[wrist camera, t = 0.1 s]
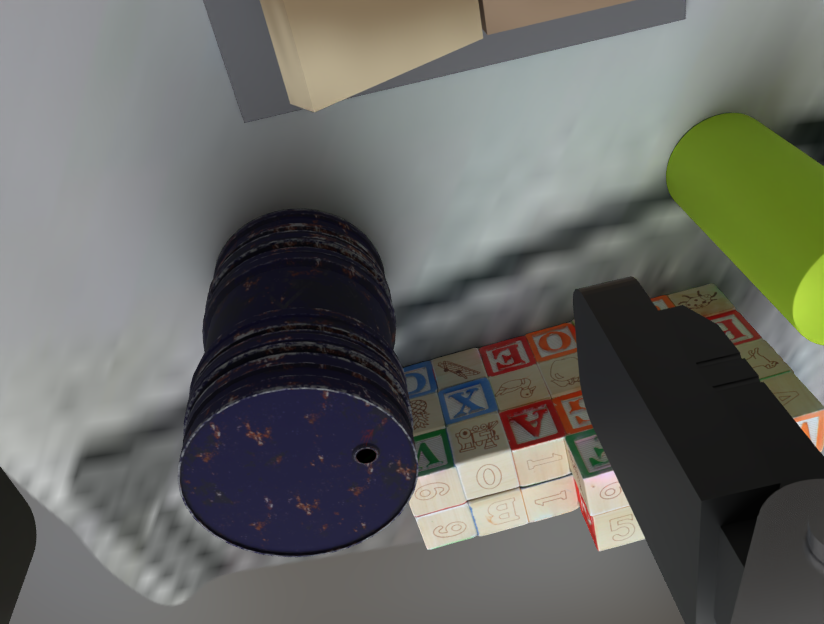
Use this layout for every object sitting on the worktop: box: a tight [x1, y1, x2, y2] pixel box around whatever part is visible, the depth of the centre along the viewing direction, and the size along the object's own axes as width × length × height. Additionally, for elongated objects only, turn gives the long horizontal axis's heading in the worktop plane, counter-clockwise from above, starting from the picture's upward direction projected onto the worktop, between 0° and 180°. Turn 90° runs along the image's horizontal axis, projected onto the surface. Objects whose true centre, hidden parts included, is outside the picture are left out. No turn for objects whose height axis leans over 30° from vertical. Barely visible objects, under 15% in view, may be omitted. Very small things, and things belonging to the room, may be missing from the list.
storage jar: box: [178, 209, 419, 557], centre depth 36 cm, size 10×10×15 cm
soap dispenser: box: [666, 113, 824, 345], centre depth 33 cm, size 6×7×20 cm
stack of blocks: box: [403, 283, 824, 551], centre depth 43 cm, size 21×6×12 cm, turn 104°
